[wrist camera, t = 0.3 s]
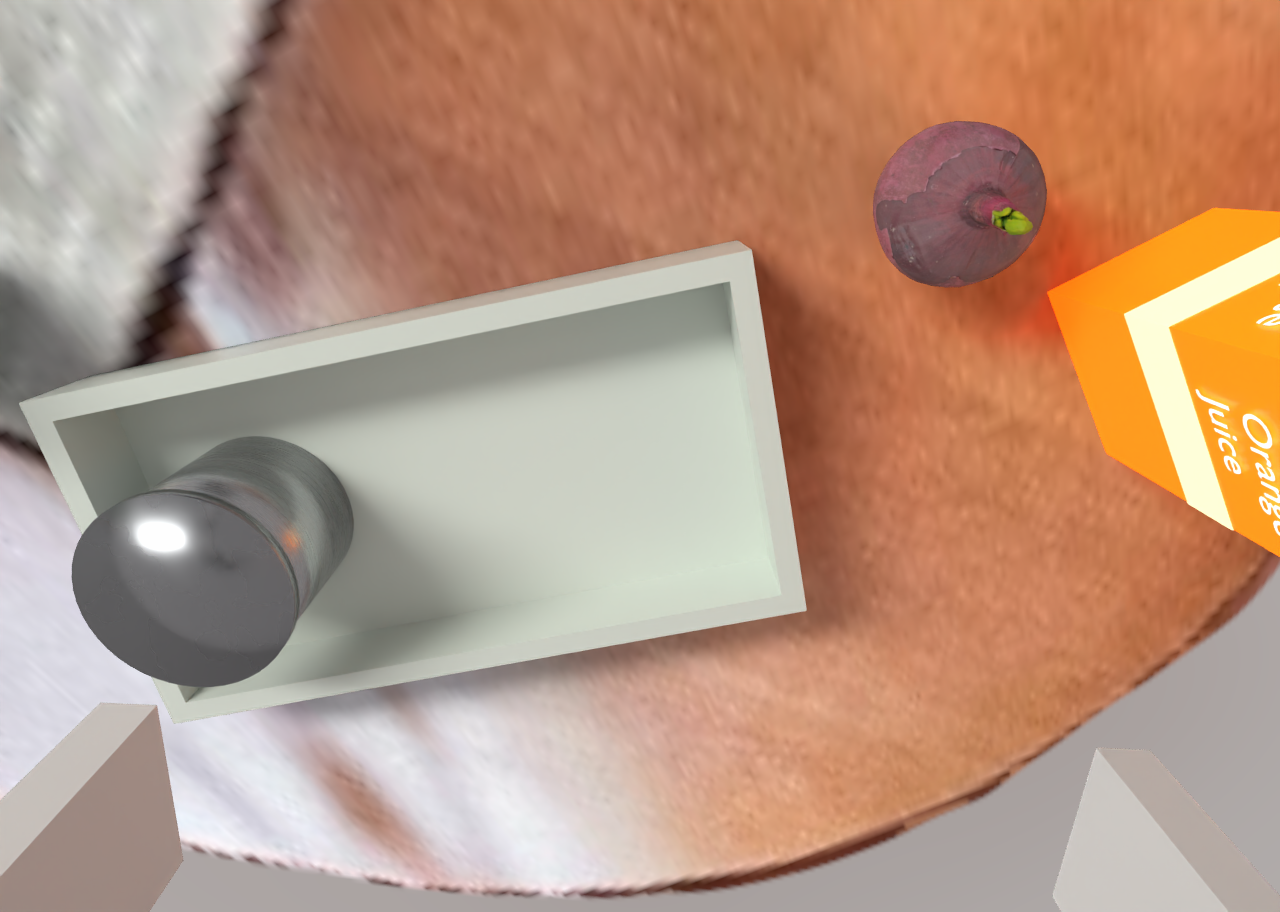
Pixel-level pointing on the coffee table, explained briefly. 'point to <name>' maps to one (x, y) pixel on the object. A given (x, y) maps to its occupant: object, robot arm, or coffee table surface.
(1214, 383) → the orange juice
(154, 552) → the tin
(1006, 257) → the vegetable
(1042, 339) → the coffee table surface
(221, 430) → the grey tray
